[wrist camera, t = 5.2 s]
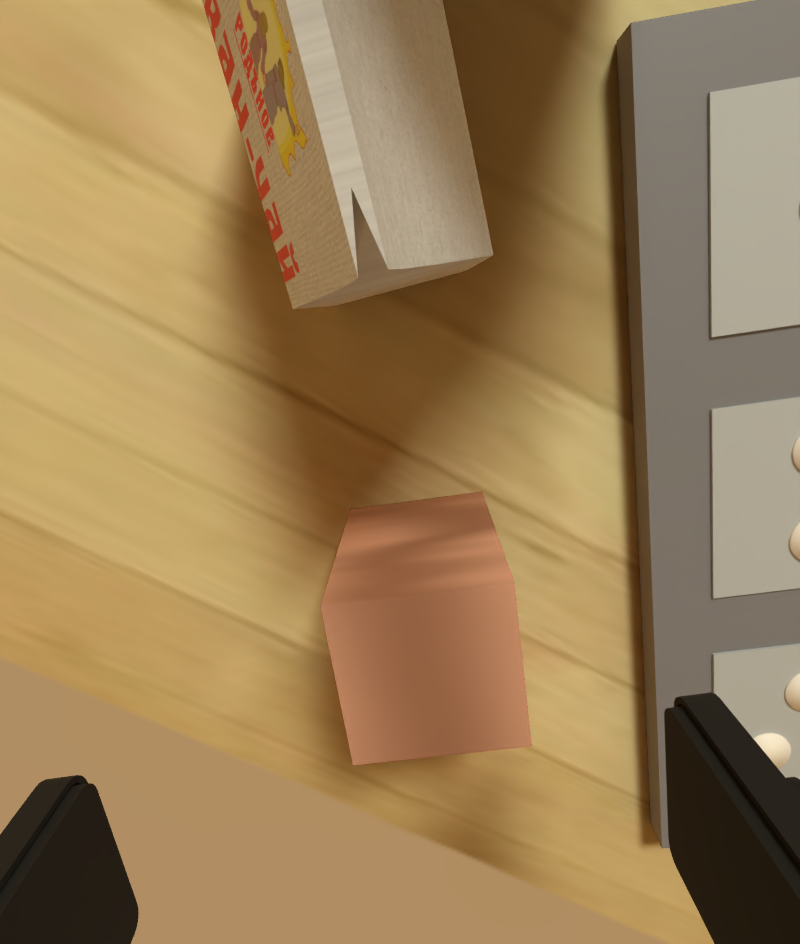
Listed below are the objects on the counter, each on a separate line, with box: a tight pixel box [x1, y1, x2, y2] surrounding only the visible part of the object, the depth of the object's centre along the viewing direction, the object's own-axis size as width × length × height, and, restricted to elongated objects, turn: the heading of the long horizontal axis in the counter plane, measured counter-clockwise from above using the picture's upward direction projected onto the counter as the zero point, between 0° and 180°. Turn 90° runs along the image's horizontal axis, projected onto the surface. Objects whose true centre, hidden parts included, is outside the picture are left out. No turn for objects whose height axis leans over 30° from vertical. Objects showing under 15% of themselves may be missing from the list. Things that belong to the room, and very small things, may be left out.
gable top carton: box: [202, 0, 493, 309], centre depth 11 cm, size 4×7×10 cm, turn 14°
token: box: [320, 492, 532, 765], centre depth 16 cm, size 4×4×6 cm
